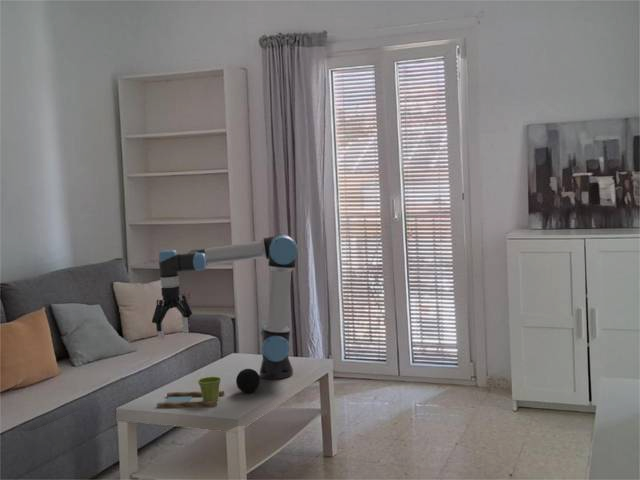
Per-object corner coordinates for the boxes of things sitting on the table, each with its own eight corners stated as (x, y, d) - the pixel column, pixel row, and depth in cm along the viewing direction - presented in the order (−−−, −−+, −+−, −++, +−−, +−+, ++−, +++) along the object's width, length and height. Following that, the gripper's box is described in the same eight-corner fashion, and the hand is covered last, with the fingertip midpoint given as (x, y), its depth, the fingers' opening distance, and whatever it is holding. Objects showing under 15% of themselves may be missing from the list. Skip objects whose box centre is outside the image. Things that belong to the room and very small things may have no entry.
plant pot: (194, 401, 300) (193, 380, 300) (213, 395, 307) (211, 375, 306) (208, 405, 294) (206, 384, 293) (226, 399, 300) (225, 378, 300)
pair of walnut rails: (224, 394, 308) (224, 390, 308) (215, 406, 292) (215, 402, 292) (168, 395, 310) (168, 392, 310) (157, 407, 294) (156, 404, 294)
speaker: (265, 390, 311) (264, 367, 310) (251, 397, 302) (249, 373, 301) (246, 387, 316) (245, 365, 315) (232, 394, 308) (230, 370, 307)
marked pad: (192, 397, 306) (192, 396, 306) (185, 404, 296) (185, 403, 296) (168, 397, 307) (168, 397, 307) (161, 405, 297) (161, 404, 297)
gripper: (186, 281, 325) (189, 328, 327) (140, 290, 306) (144, 340, 308) (197, 282, 321) (201, 330, 322) (152, 291, 301) (156, 342, 303)
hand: (173, 335), depth 315 cm, fingers open, 13 cm apart
